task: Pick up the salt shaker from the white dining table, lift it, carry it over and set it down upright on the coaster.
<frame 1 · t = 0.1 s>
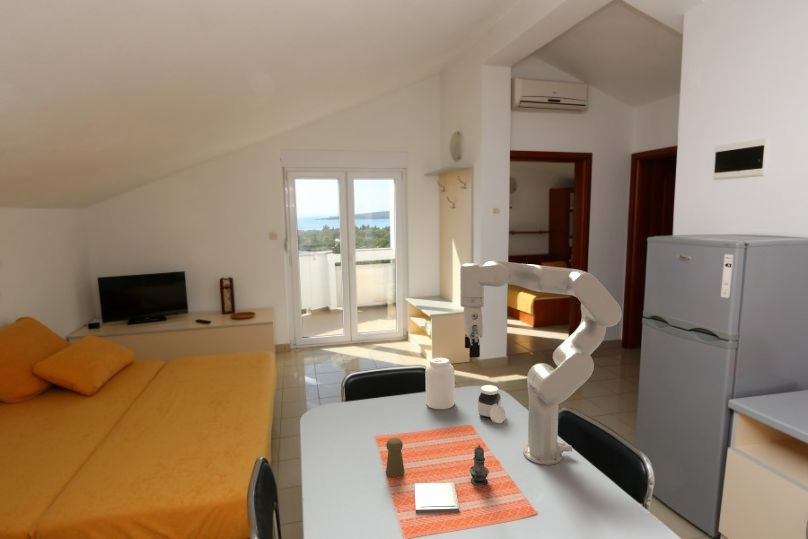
hand: (472, 352, 147), 37 cm above the table, tool pointing down, fingers open, 9 cm apart
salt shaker: (479, 481, 138), on the table
spread jar: (492, 418, 181), on the table
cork: (395, 472, 144), on the table
coaster: (435, 498, 130), on the table
can: (440, 404, 195), on the table
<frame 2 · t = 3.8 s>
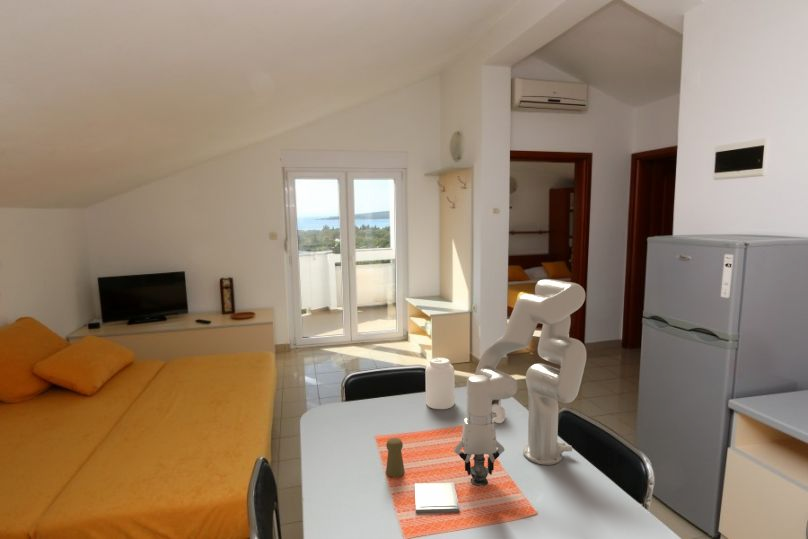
hand: (479, 471, 138), 3 cm above the table, tool pointing down, fingers closed on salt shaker, 5 cm apart
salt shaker: (479, 481, 138), on the table, touching gripper
everything else where it was.
when the fingers open (5 cm above the table, at t = 9.4 s): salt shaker stays where it is, resting on coaster.
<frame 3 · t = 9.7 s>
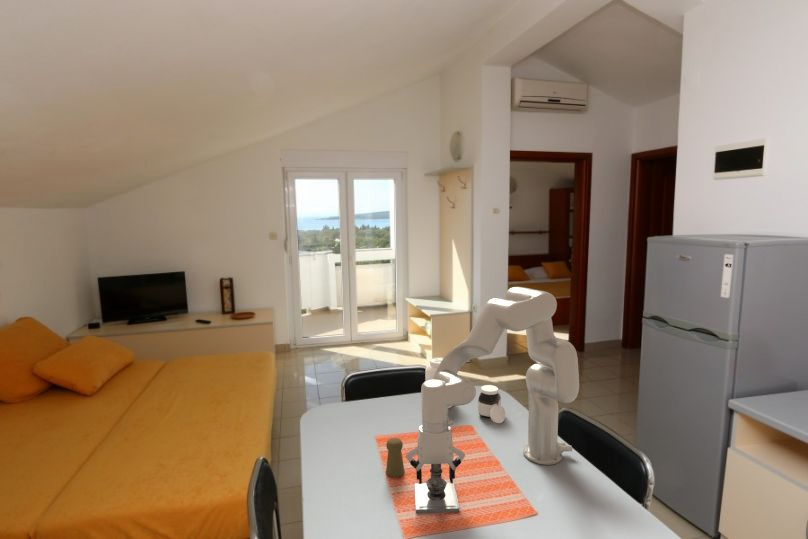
hand: (435, 480, 129), 6 cm above the table, tool pointing down, fingers open, 8 cm apart
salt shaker: (436, 495, 130), point 1 cm above the table, touching coaster
everything else where it was.
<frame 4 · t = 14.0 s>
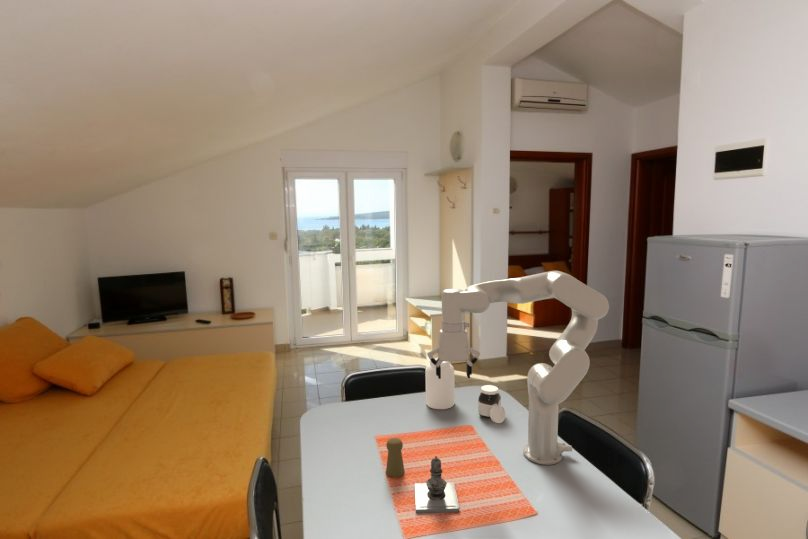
hand: (453, 377, 148), 28 cm above the table, tool pointing down, fingers open, 9 cm apart
nothing on the table moved.
at the end: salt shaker inside the target area on the coaster (0.2 cm from its centre), point 1.0 cm above the coaster's base; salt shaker tilted 0°; the gripper is holding nothing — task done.
